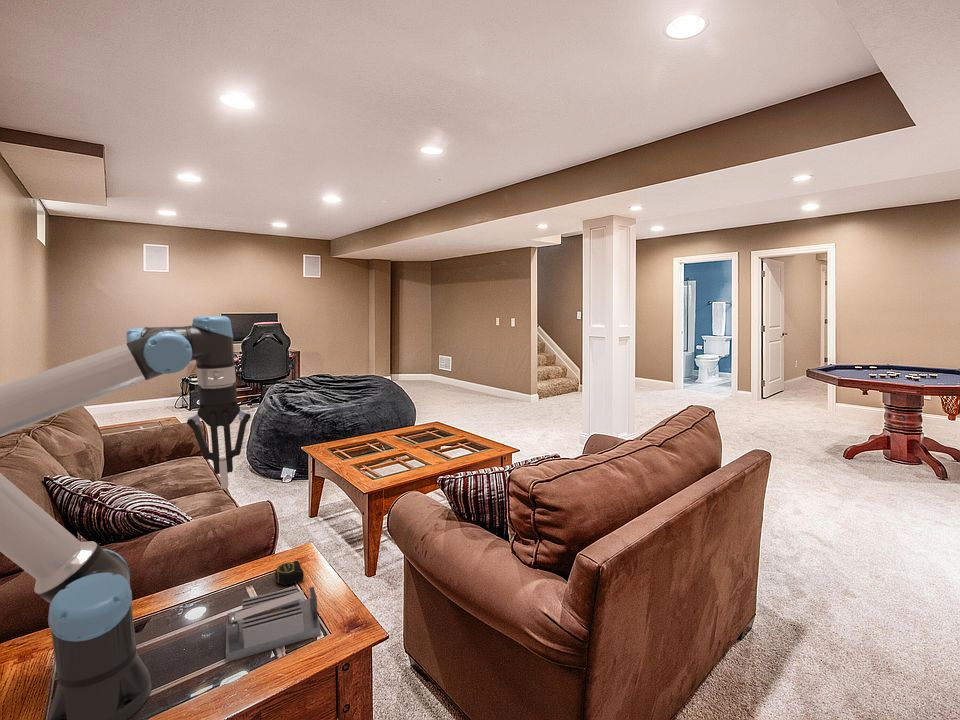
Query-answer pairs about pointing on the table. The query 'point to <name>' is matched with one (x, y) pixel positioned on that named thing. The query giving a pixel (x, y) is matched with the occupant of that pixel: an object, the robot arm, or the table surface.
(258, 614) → the grey flat bar
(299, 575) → the tape measure
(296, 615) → the heatsink
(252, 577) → the table surface
